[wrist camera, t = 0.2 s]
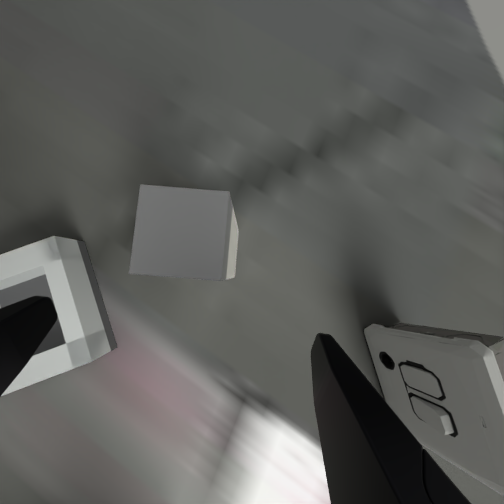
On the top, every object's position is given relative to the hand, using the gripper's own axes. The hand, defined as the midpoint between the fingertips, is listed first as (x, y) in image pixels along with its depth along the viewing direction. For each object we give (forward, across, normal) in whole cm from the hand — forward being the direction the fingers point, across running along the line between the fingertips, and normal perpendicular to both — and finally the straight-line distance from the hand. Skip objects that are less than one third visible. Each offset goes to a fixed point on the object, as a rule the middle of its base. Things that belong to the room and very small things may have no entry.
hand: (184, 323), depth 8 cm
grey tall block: (+14, +2, +5) cm, 15 cm away
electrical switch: (+10, -17, +12) cm, 23 cm away
